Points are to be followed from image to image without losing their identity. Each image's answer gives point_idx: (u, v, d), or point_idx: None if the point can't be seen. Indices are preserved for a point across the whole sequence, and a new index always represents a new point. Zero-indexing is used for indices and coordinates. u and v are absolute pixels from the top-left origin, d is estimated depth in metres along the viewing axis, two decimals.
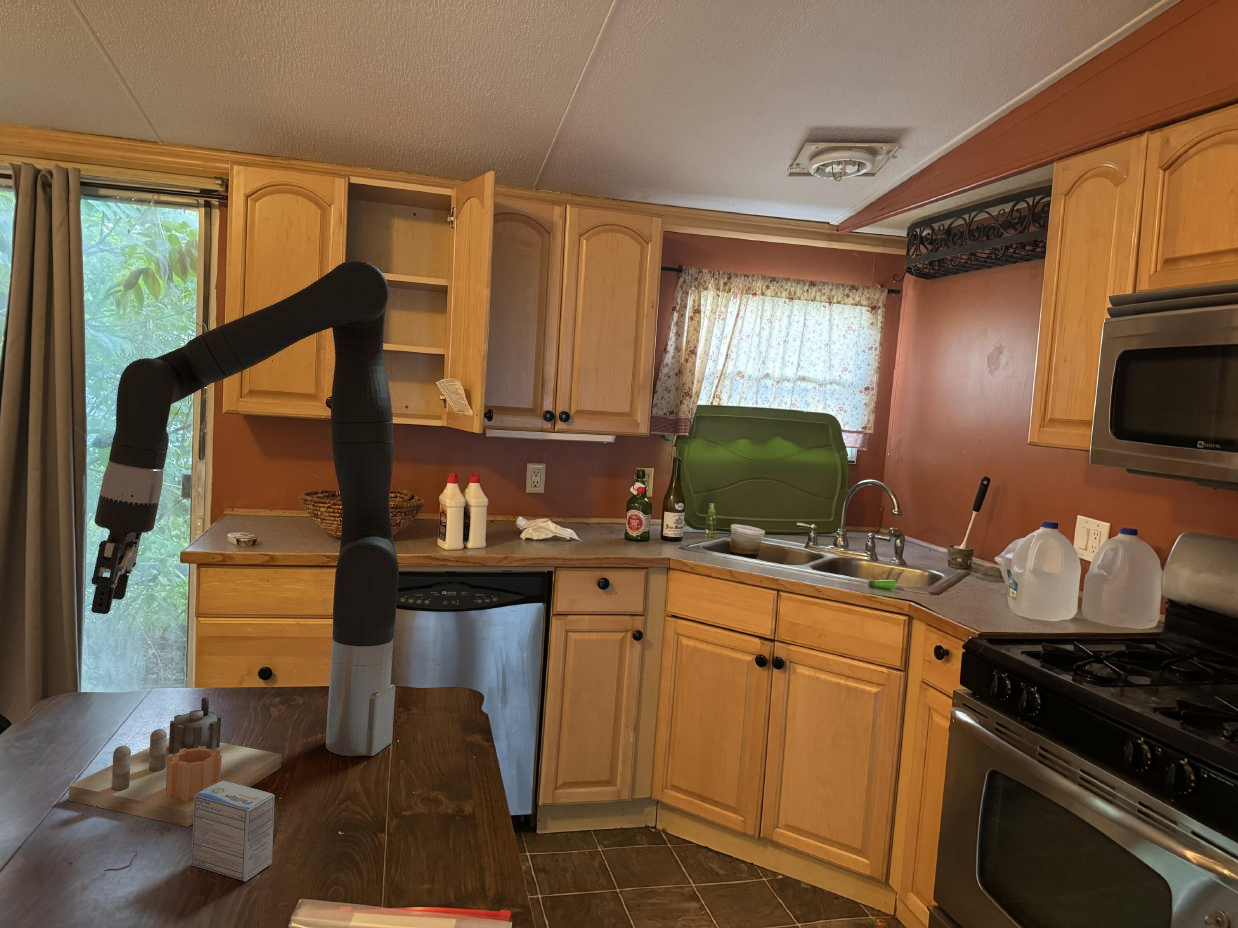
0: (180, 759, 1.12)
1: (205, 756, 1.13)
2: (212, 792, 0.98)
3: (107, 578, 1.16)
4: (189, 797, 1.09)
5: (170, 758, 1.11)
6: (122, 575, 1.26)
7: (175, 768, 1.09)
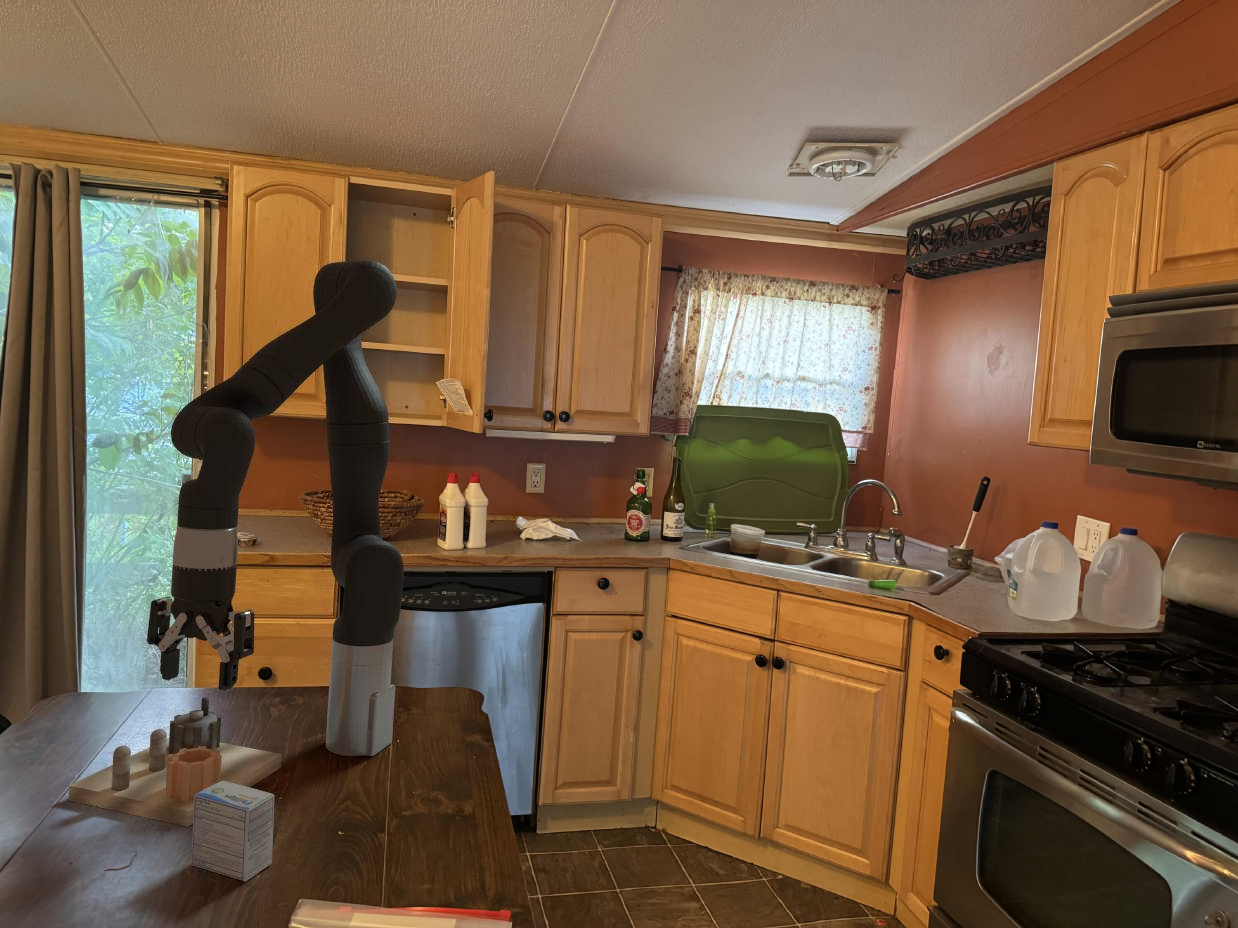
0: (180, 759, 1.12)
1: (205, 756, 1.13)
2: (212, 792, 0.98)
3: (248, 648, 1.10)
4: (189, 797, 1.09)
5: (170, 758, 1.11)
6: (175, 650, 1.12)
7: (175, 768, 1.09)
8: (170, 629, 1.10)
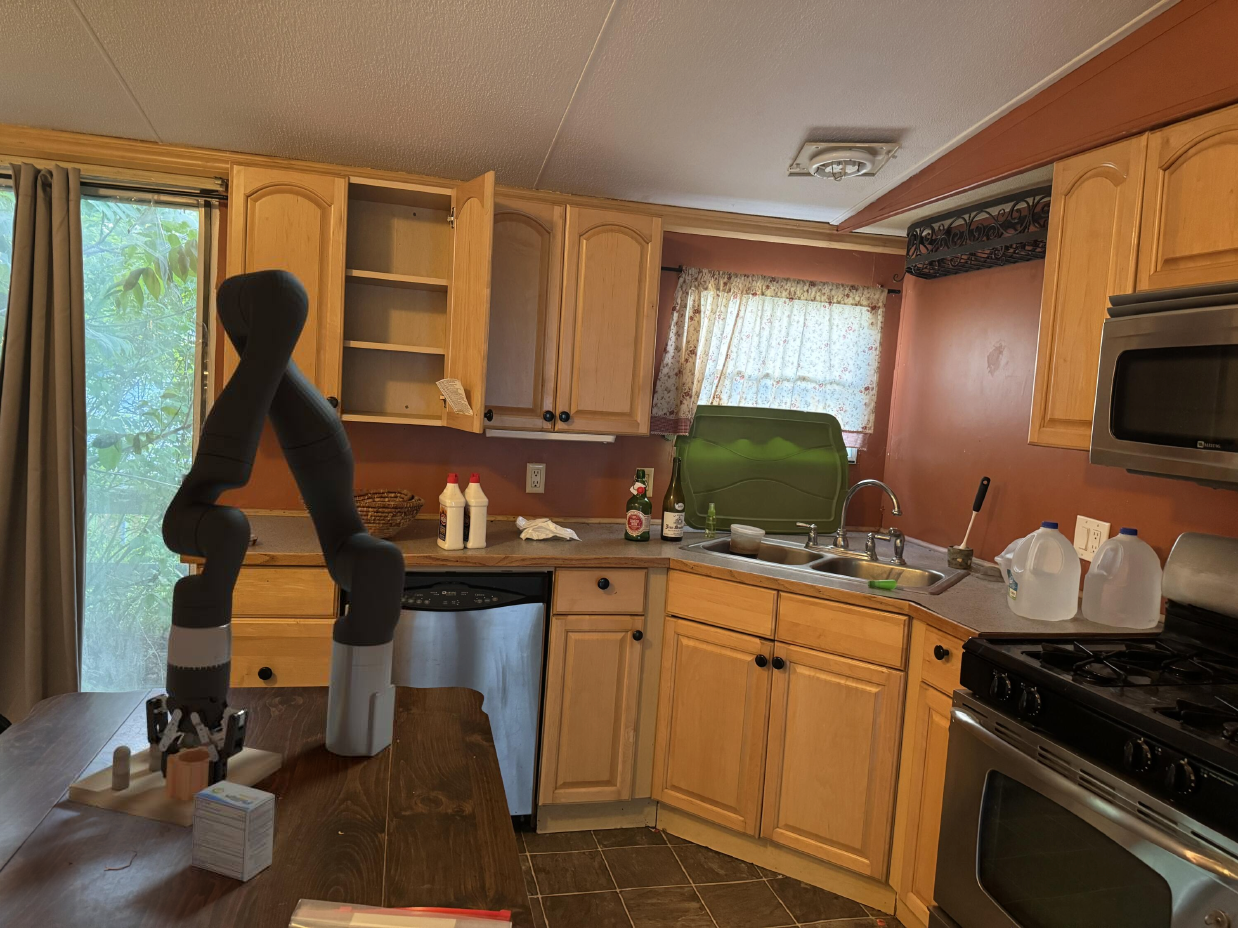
0: (180, 759, 1.12)
1: (205, 756, 1.13)
2: (212, 792, 0.98)
3: (237, 745, 1.11)
4: (189, 797, 1.09)
5: (170, 758, 1.11)
6: (176, 748, 1.13)
7: (175, 768, 1.09)
8: (167, 727, 1.10)
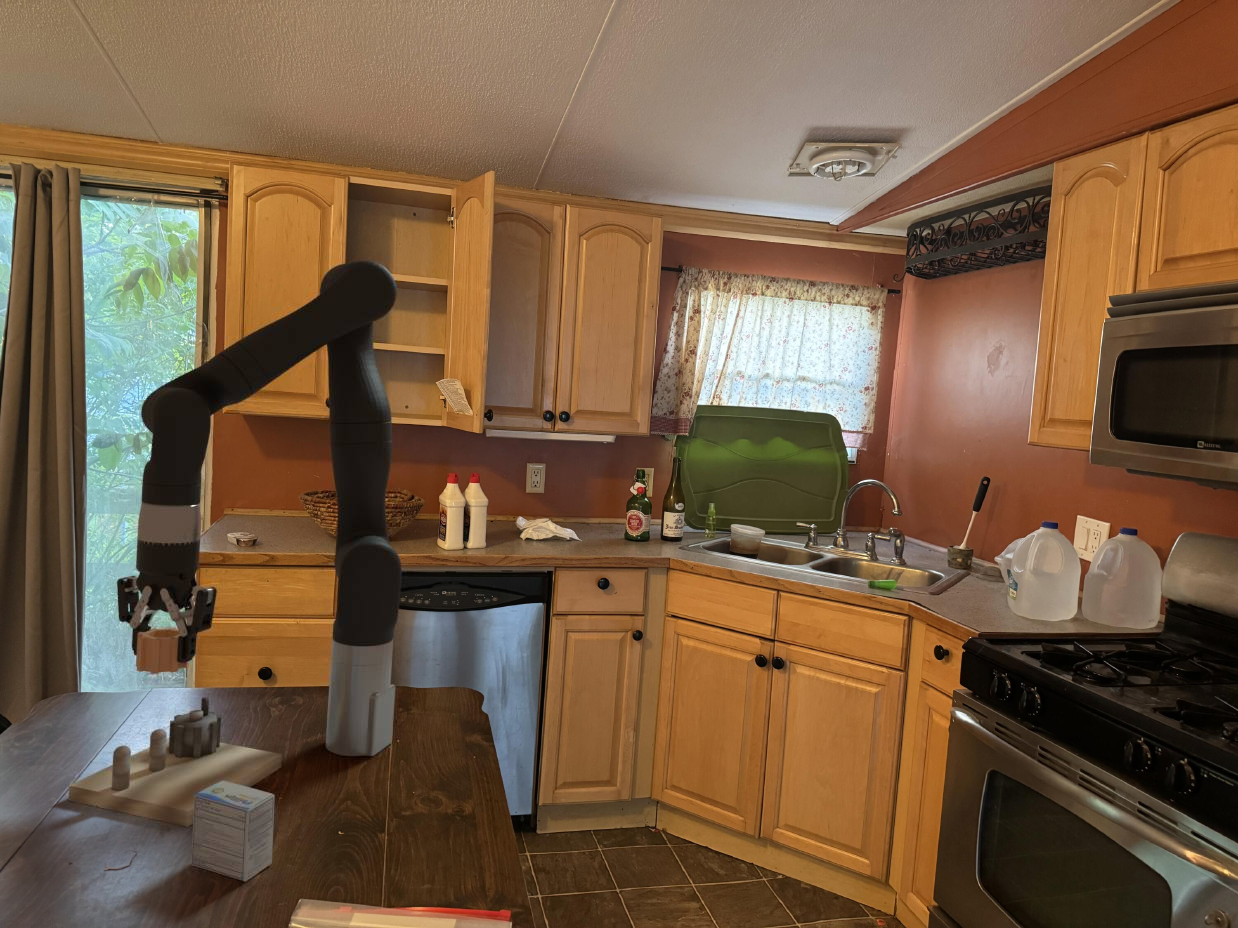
0: (150, 637, 1.16)
1: (175, 636, 1.17)
2: (212, 792, 0.98)
3: (206, 622, 1.15)
4: (158, 670, 1.13)
5: (140, 635, 1.15)
6: (146, 627, 1.17)
7: (145, 643, 1.13)
8: (138, 604, 1.14)
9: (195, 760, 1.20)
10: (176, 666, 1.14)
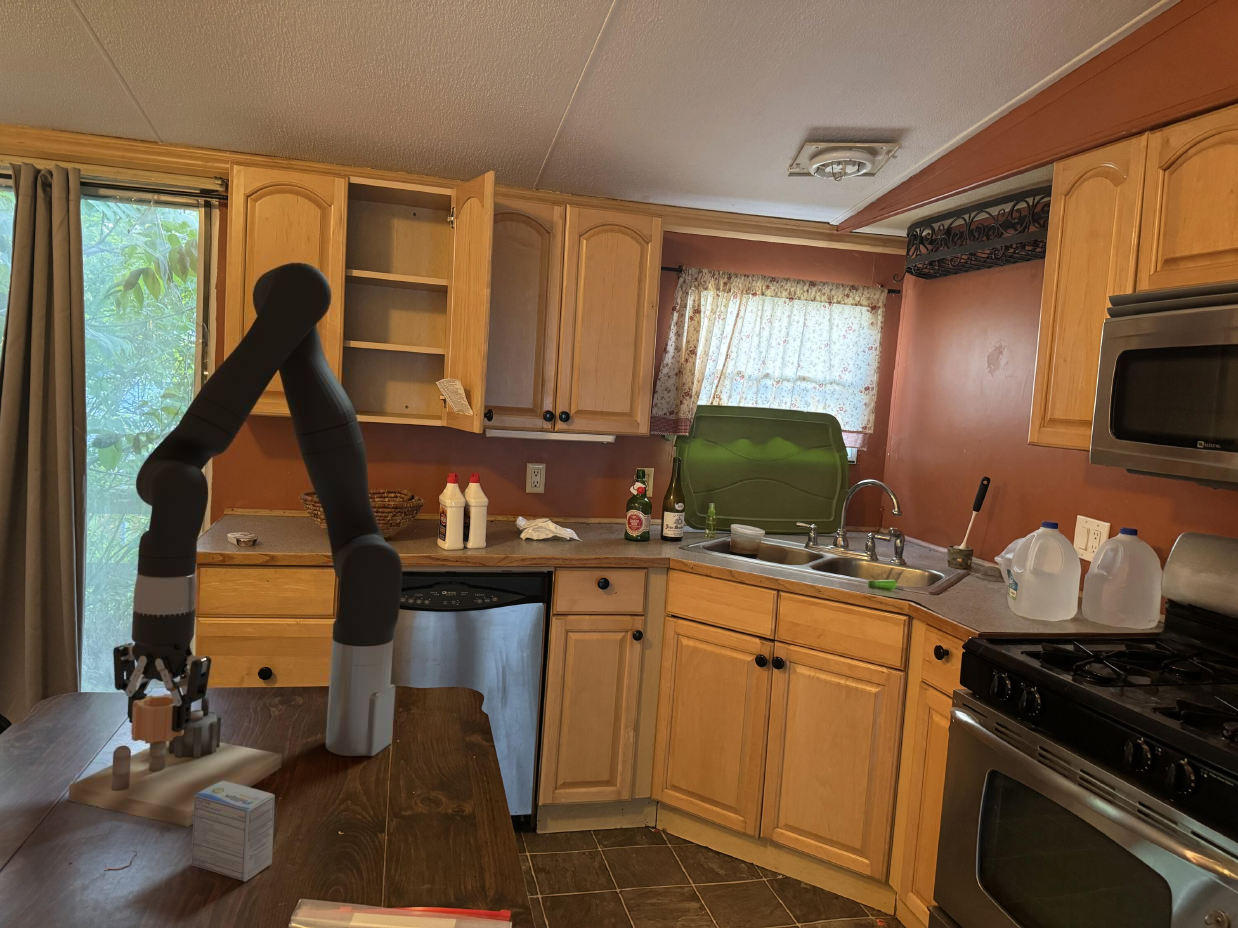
0: (145, 705, 1.17)
1: (170, 703, 1.18)
2: (212, 792, 0.98)
3: (200, 691, 1.15)
4: (153, 740, 1.14)
5: (135, 703, 1.16)
6: (142, 695, 1.17)
7: (140, 712, 1.14)
8: (133, 673, 1.15)
9: (195, 760, 1.20)
10: (170, 735, 1.15)
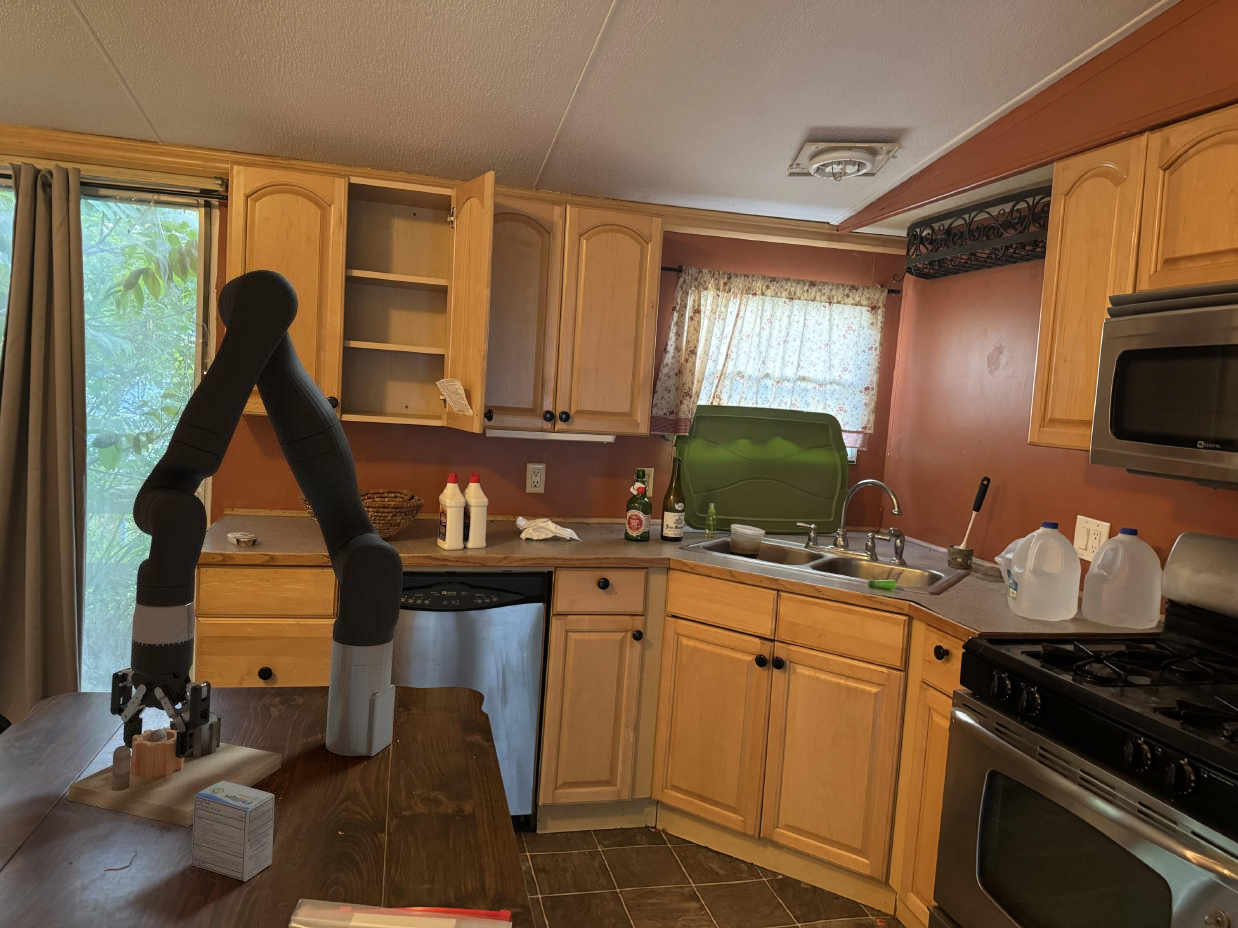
0: (145, 739, 1.17)
1: (169, 737, 1.19)
2: (212, 792, 0.98)
3: (204, 717, 1.16)
4: (152, 775, 1.14)
5: (135, 738, 1.16)
6: (138, 719, 1.18)
7: (139, 747, 1.14)
8: (131, 700, 1.15)
9: (195, 760, 1.20)
10: (170, 770, 1.15)
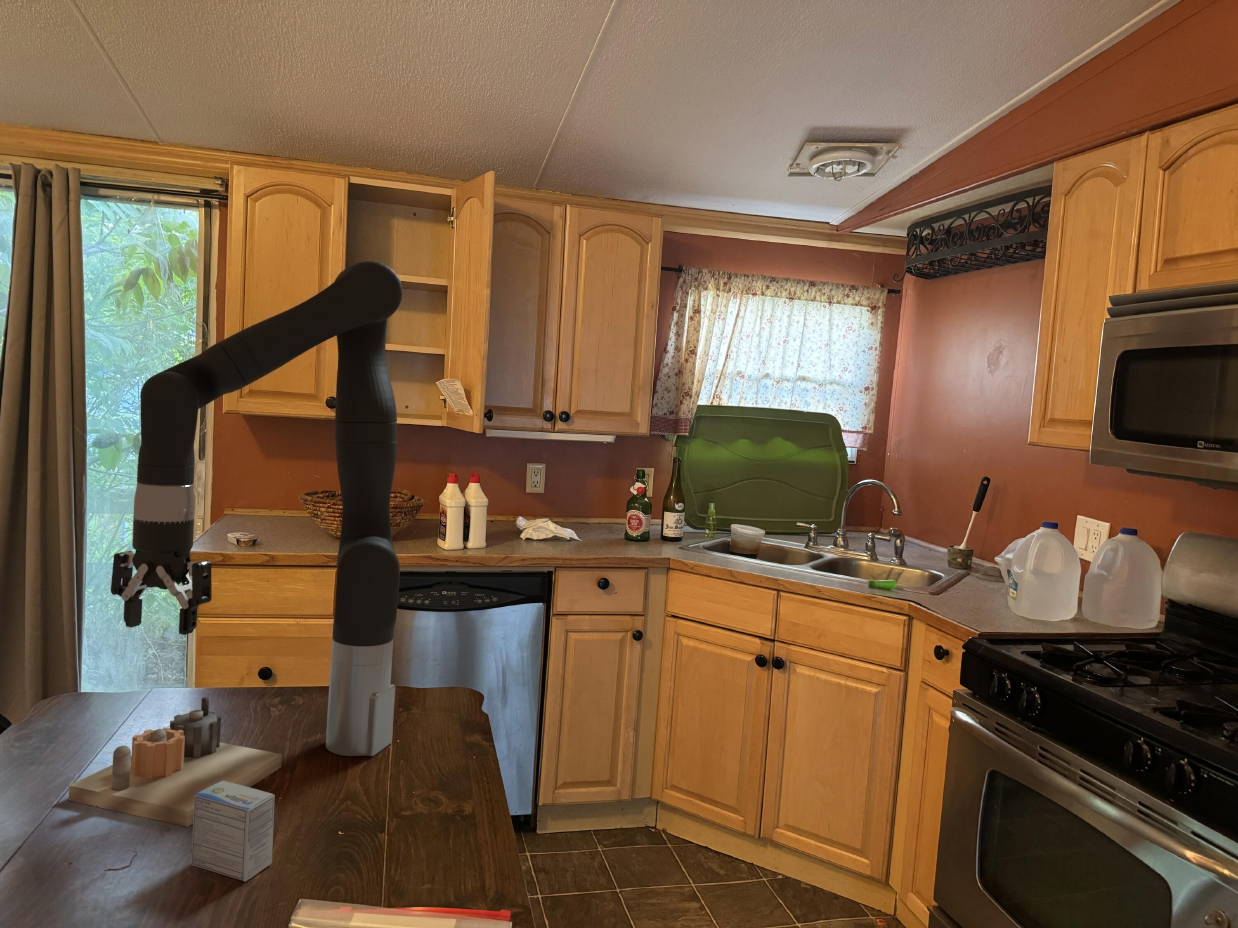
0: (145, 739, 1.17)
1: (169, 737, 1.19)
2: (212, 792, 0.98)
3: (206, 595, 1.19)
4: (152, 775, 1.14)
5: (135, 738, 1.16)
6: (138, 600, 1.21)
7: (139, 747, 1.14)
8: (132, 579, 1.18)
9: (195, 760, 1.20)
10: (170, 770, 1.15)
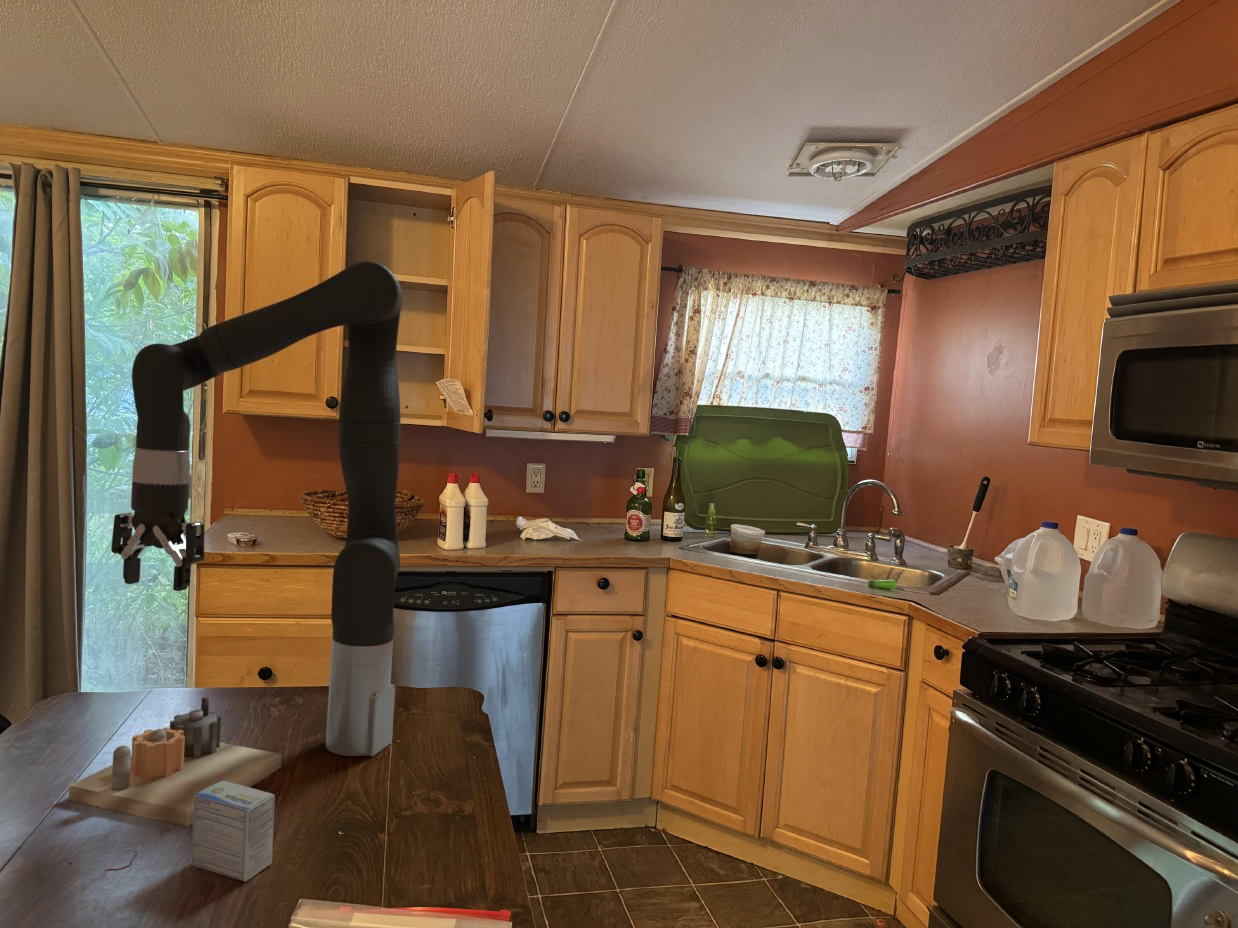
0: (145, 739, 1.17)
1: (169, 737, 1.19)
2: (212, 792, 0.98)
3: (199, 554, 1.26)
4: (152, 775, 1.14)
5: (135, 738, 1.16)
6: (136, 559, 1.29)
7: (139, 747, 1.14)
8: (131, 539, 1.26)
9: (195, 760, 1.20)
10: (170, 770, 1.15)
